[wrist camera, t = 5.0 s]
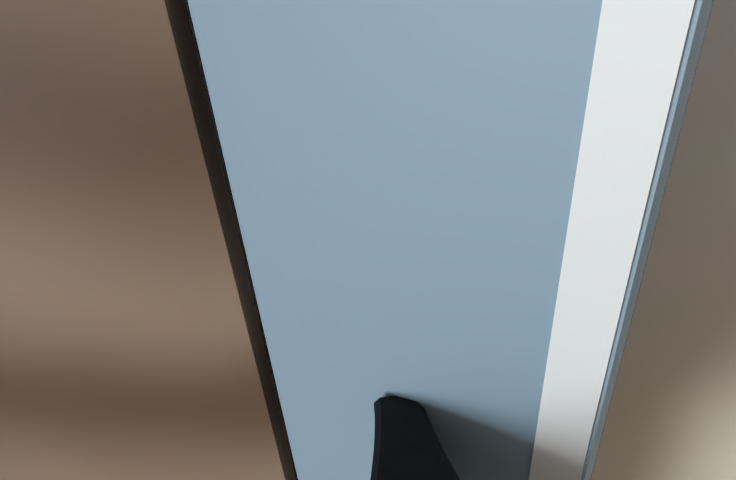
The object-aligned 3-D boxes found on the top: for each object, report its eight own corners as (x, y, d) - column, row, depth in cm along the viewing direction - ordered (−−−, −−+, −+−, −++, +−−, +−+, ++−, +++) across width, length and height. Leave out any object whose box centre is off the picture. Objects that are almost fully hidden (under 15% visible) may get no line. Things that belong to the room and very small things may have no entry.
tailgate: (345, 567, 18) (536, 689, 15) (324, 600, 17) (520, 735, 15) (188, -320, 7) (839, -487, 4) (107, -332, 6) (838, -551, 3)
